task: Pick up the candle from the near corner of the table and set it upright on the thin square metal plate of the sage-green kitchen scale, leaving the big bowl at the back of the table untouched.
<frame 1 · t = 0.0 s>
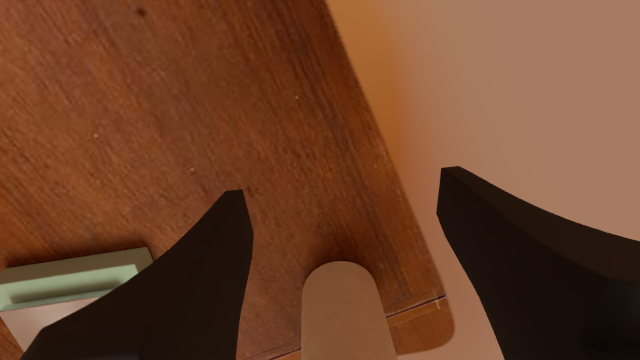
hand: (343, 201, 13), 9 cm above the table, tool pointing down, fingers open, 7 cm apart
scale: (104, 312, 25), on the table
candle: (338, 288, 26), on the table
thin square metal plate: (83, 342, 23), point 3 cm above the table, slide at 0.1 cm
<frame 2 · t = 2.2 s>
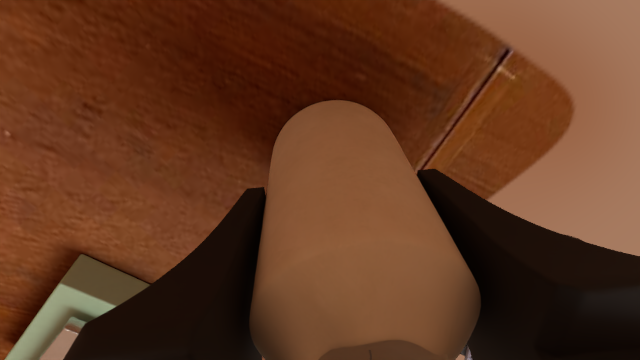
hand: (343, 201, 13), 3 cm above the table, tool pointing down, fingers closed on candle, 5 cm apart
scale: (130, 336, 21), on the table
candle: (333, 155, 16), on the table, touching gripper
when the fingers open (6 cm above the table, at t = 6.9 s): candle stays where it is, resting on thin square metal plate.
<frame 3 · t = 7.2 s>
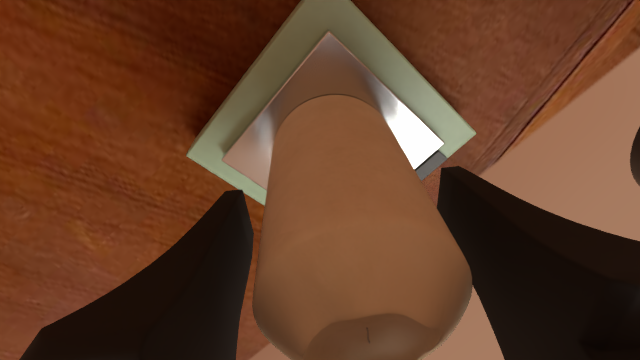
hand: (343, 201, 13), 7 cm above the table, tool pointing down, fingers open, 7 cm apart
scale: (329, 128, 18), on the table
candle: (332, 149, 16), point 3 cm above the table, touching thin square metal plate
thin square metal plate: (333, 148, 16), point 2 cm above the table, slide at -0.2 cm, touching candle
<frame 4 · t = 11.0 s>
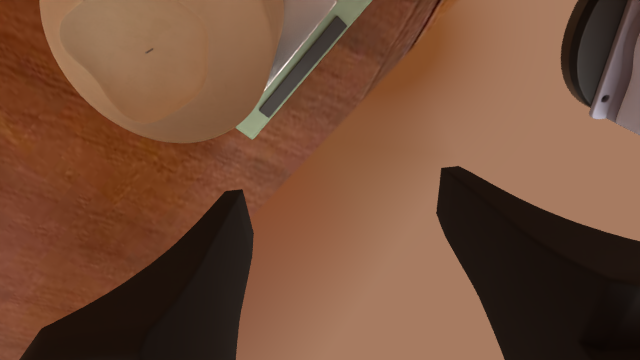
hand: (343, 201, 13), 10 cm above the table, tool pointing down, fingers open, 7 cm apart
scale: (235, 3, 18), on the table
candle: (225, 7, 16), point 3 cm above the table, touching thin square metal plate
thin square metal plate: (227, 8, 16), point 2 cm above the table, slide at -0.2 cm, touching candle
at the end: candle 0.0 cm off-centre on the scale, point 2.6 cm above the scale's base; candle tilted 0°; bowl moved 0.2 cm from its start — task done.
